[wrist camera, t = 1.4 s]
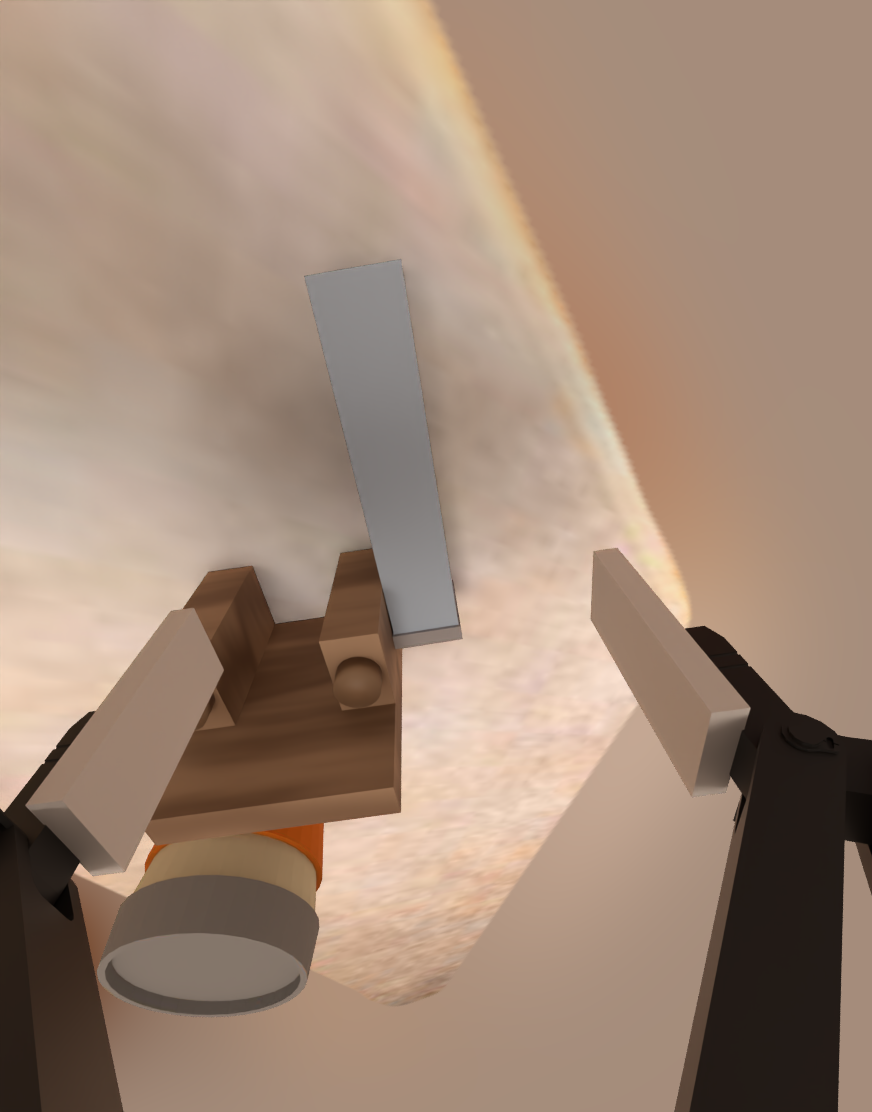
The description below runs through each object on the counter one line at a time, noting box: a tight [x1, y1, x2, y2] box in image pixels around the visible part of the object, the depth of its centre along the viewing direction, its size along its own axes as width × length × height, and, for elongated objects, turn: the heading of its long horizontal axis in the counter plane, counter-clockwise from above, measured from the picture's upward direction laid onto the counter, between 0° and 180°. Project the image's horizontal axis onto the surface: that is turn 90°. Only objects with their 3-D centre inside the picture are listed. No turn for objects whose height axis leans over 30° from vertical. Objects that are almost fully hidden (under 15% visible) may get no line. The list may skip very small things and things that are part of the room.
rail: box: [304, 259, 462, 649], centre depth 26 cm, size 20×4×5 cm, turn 9°
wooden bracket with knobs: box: [145, 549, 402, 846], centre depth 27 cm, size 7×12×14 cm, turn 98°
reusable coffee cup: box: [97, 823, 324, 1017], centre depth 34 cm, size 12×13×15 cm
